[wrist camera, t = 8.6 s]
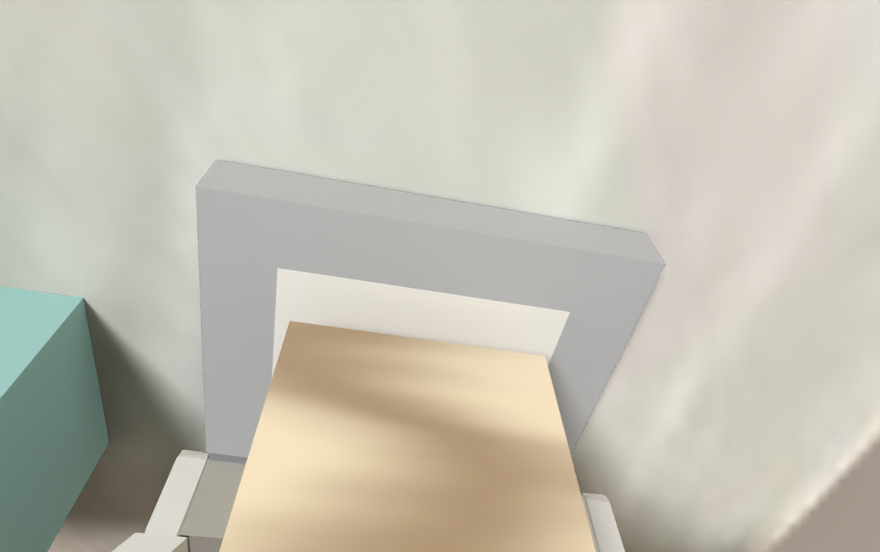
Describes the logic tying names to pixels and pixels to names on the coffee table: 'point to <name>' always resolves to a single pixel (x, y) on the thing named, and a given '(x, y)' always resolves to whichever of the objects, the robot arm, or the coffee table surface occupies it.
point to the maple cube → (406, 451)
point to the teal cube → (45, 415)
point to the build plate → (402, 284)
